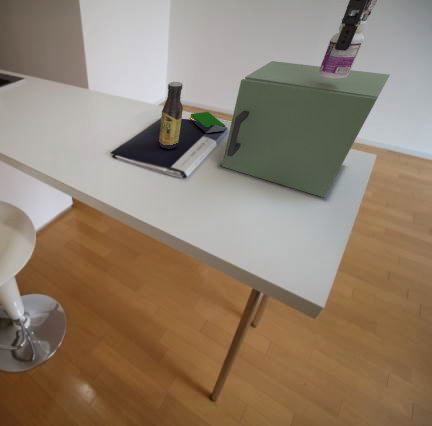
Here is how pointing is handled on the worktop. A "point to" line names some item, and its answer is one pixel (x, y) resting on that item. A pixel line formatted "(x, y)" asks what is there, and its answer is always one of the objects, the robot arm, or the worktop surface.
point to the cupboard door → (293, 133)
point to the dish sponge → (206, 119)
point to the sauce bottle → (171, 115)
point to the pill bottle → (341, 56)
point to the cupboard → (320, 79)
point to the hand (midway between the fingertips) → (344, 46)
